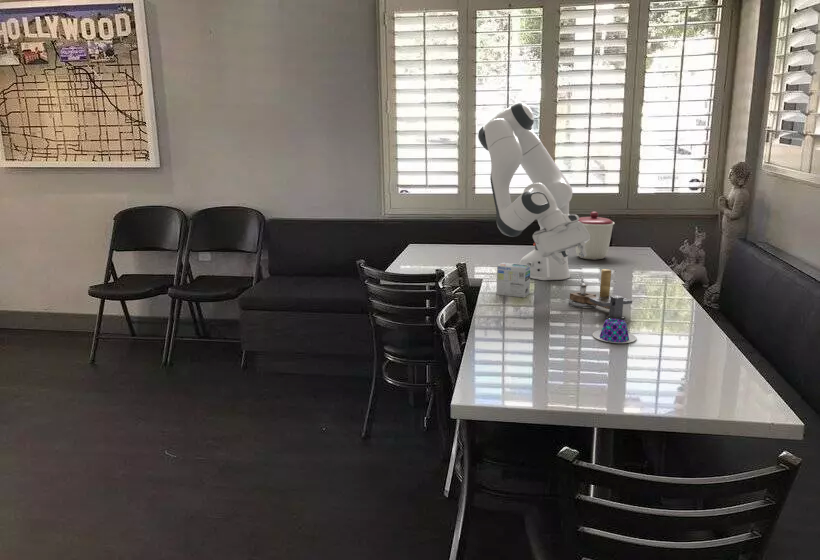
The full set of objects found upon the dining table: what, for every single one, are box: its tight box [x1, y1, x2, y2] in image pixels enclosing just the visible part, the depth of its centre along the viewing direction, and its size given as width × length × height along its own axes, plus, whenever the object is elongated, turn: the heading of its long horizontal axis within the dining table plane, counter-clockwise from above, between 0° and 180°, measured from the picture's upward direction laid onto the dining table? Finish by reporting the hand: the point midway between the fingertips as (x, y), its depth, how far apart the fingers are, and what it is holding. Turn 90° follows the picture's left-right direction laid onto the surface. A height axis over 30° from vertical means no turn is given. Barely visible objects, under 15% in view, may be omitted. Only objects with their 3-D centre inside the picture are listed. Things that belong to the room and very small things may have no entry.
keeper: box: [590, 294, 633, 321], centre depth 207 cm, size 8×11×7 cm
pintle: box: [568, 282, 597, 308], centre depth 221 cm, size 9×9×7 cm
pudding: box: [592, 318, 637, 344], centre depth 187 cm, size 12×12×5 cm
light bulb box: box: [495, 262, 531, 299], centre depth 234 cm, size 11×7×11 cm, turn 65°
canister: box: [575, 211, 615, 261], centre depth 298 cm, size 18×18×21 cm
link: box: [569, 268, 612, 310], centre depth 215 cm, size 18×6×12 cm, turn 33°
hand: (573, 260), depth 222 cm, fingers open, 8 cm apart
